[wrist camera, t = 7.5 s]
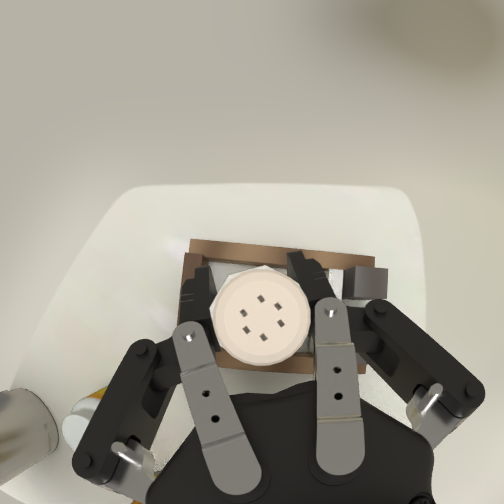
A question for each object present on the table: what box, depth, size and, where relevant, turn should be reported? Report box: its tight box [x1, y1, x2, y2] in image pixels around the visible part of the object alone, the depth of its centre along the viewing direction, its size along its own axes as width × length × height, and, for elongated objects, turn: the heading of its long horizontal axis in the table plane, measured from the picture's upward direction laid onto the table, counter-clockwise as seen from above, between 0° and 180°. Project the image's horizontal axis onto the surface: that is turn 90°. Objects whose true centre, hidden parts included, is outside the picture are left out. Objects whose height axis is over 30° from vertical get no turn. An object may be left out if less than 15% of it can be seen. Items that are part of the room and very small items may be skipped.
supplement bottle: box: [62, 386, 108, 451], centre depth 21 cm, size 5×5×10 cm
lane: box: [177, 239, 388, 374], centre depth 25 cm, size 17×11×6 cm, turn 85°
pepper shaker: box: [209, 265, 311, 366], centre depth 14 cm, size 5×5×11 cm
